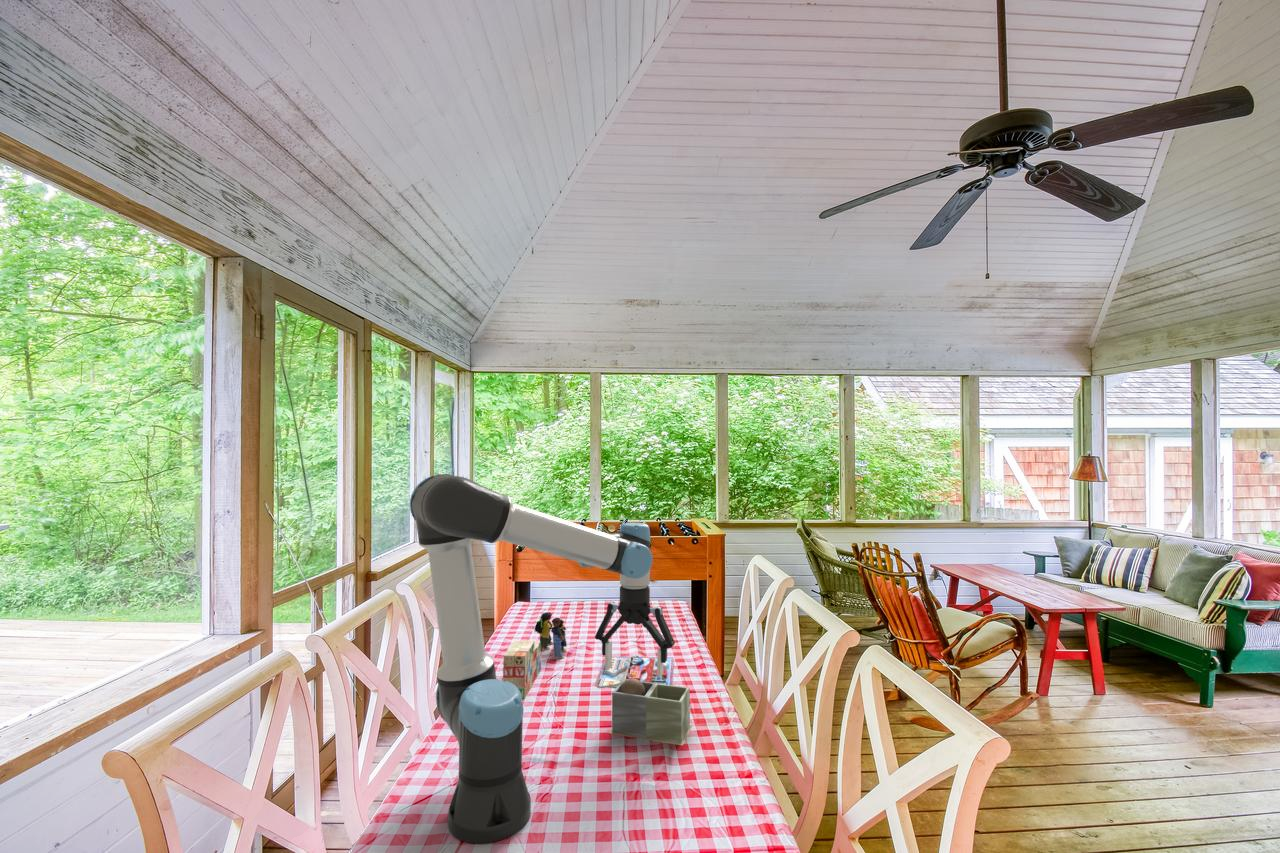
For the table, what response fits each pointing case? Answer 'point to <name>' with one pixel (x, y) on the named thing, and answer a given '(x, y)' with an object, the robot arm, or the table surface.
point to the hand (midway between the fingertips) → (634, 672)
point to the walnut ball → (633, 687)
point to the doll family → (558, 634)
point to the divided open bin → (652, 713)
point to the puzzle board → (634, 671)
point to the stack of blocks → (522, 665)
